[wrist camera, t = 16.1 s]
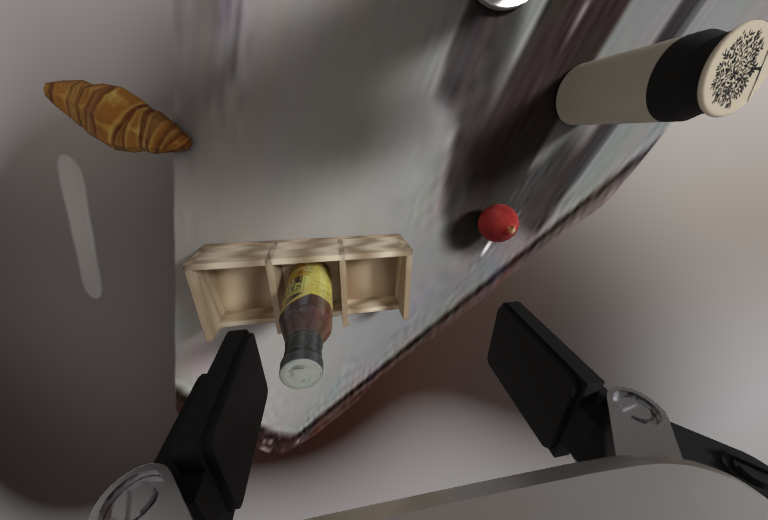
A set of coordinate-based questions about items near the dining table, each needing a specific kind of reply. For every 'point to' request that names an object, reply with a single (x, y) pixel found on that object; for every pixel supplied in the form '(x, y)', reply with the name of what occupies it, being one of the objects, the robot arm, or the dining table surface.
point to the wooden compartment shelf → (272, 269)
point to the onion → (498, 223)
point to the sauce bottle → (305, 324)
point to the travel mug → (669, 79)
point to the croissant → (117, 117)
